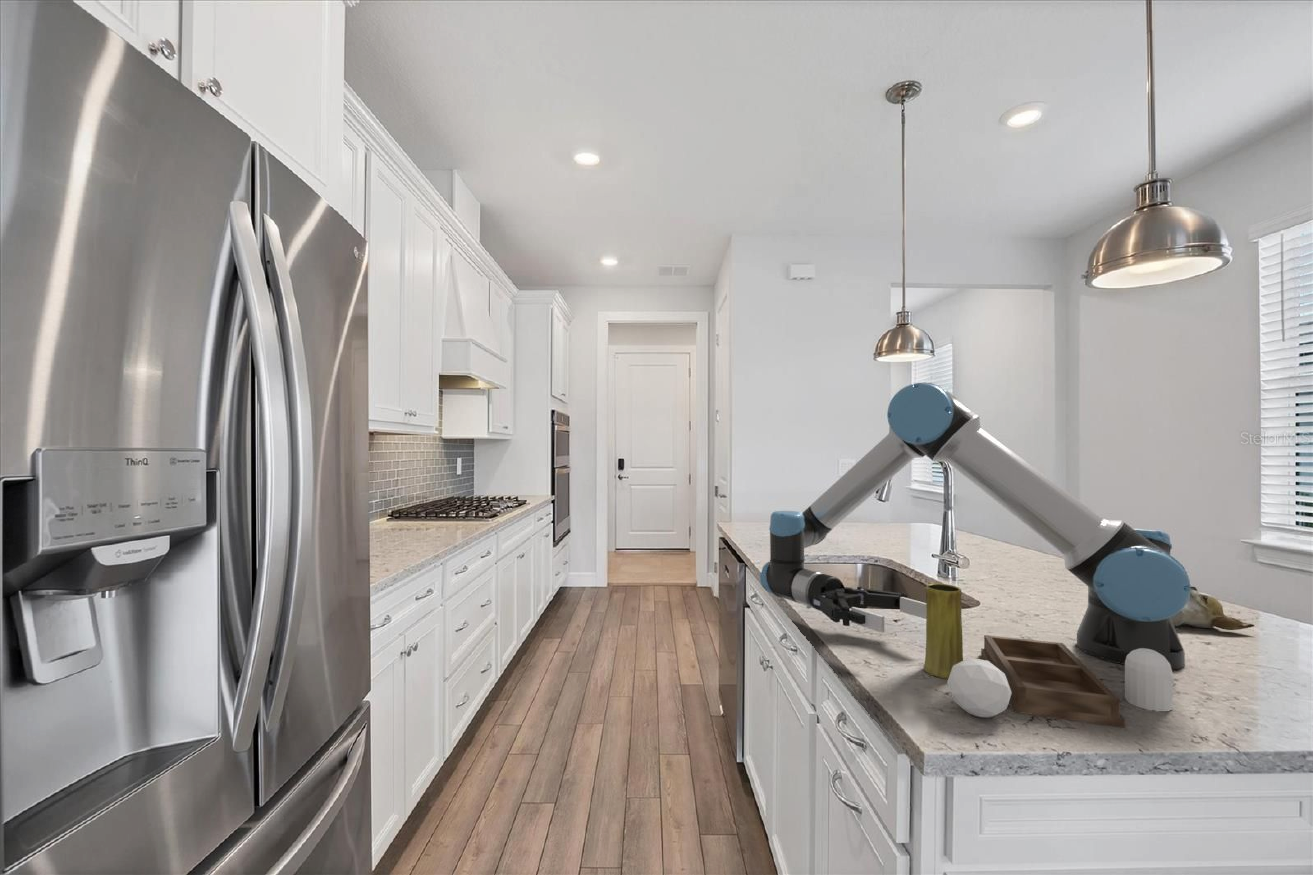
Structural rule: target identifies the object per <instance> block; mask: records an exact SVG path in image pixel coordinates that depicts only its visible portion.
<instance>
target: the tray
mask: <svg viewBox="0 0 1313 875" xmlns="http://www.w3.org/2000/svg"><path fill="white" fill-rule="evenodd" d="M983 637H984V638H983V640H984V642H983V644H984V645H983V646H984V647H983V648H981V649H980V655H981V658H982V660H987V661H989V662H990V663H992V664H993V665H994V666H995V667H997V668H998V669H999V670H1000V671H1002V672H1003V673H1004V674H1005V676H1006V678H1007V681H1008V684H1009V687H1010V689H1011V692H1012V694H1011V697H1010V700H1009V703H1008V705H1009V706H1010V707H1011V710H1012V712H1014V713H1021V714H1028V715H1034V716H1035V715H1036V716H1042V717H1049V718H1056V719H1057V718H1058V719H1063V720H1070V721H1076V722H1083V723H1084V722H1085V723H1091V724H1098V725H1106V726H1113V727H1117V728H1125V725H1126V724H1125V717H1124V716H1123V715H1122V714H1121V700H1120V698H1119V697H1118V696H1117V695H1116V694H1115V693H1114V692H1113V691H1112V690H1111V689H1110V688H1109V687H1108V686H1107V685H1106V684H1105V683H1104V682H1102V680H1101V679H1100V678H1098V676H1096V675H1095V673H1093V671H1091V669H1089V667H1088V666H1087V665H1085V664H1084V663H1083V661H1081V660H1080V659H1079V657H1077V656H1076V655H1075V653H1073V651H1071V650H1070V649H1069V648H1068V647H1067V646H1066V645H1065V644H1064V643H1063V642H1055V641H1046V640H1036V639H1035V640H1034V639H1027V638H1018V637H1008V636H997V635H987V634H984V636H983Z"/></svg>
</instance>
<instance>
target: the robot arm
mask: <svg viewBox="0 0 1313 875" xmlns="http://www.w3.org/2000/svg"><path fill="white" fill-rule="evenodd" d="M886 414H887V415H886V416H887V422H888V425H889V428H888V430H889V431H888V434H887V435H886V436H884V437H883V439H881V440H880V441H879V442H878V443H877V444H876V445H874V447H873V448H872V449H870V450H869V451H868V452H867V453H866V454H865V455H864V456H863V457H862V458H861V459H860V460H858V461H857V462H856V463H855V464H854V465H853V466H852V467H851V468H849V469H848V471H847V472H845V473H844V474H843V475H842V476H841V477H840V478H839V479H838V480H836V481H835V482H834V483H833V484H832V485H831V486H829V488H828V489H827V490H826V491H825V492H823V494H821V495H820V496H819V497H818V498H817V499H816V500H815V501H814V502H812V503H811V505H809V506H808V507H807V508H806V509H805V510H804V511H803V512H802V511H801V512H800V511H796V510H779V511H778V510H777V511H776V510H775V511H774V512H772V513H771V514H770V522H769V523H770V524H769V529H768V530H769V543H770V544H769V547H770V548H769V549H770V550H769V551H770V552H769V553H770V554H769V556H770V557H769V561H767V562H766V563H764V565H763V566H762V568H761V571H760V574H759V581H760V584H761V586H762V589H764V590H765V592H768V593H769V594H772V595H774V596H776V597H777V598H781V599H785V600H788V601H790V602H794V603H797V604H800V605H802V606H806V608H807V609H814V610H817V611H819V612H822V614H824V615H825V616H826V617H827V618H829V619H830V620H831V621H832V622H833V623H840V622H841V620H842V625H843V626H845V627H850V624H851V623H852V624H854V625H858V626H861V627H865V628H867V629H869V630H873V631H876V632H879V633H881V634H882V633H885V615H881V614H878V613H876V612H872V611H869V610H866V609H867V608H868V607H872V608H879V609H892V610H899V612H902V613H904V614H907V615H912V616H914V617H916V618H917V617H918V618H921V619H925V620H926V602H923V601H919V600H915V599H912V598H908V597H909V596H908V595H909V594H908V593H905V592H903V591H900V592H894V591H887V590H880V589H873V588H872V589H871V588H867V587H862V586H857V587H856V588H853V587H847V586H846V587H845V584H843V581H842V580H841V579H840V578H839V577H837V576H833V575H831V574H830V575H829V574H826V573H822V572H818V571H814V570H810V569H807V568H805V549H806V548H808V547H809V548H810V547H811V546H815V545H818V544H819V543H821V542H822V541H823V540H825V539H826V538H827V536H828V534H829V533H830V532H831V531H832V530H833V529H834V528H835V527H836V526H839V524H840V523H841V522H843V520H845V519H846V518H847V517H848V516H849V515H851V513H853V512H854V511H855V510H856V509H858V508H859V507H860V506H861V505H862V504H863V503H864V502H866V501H867V500H868V499H869V498H870V497H872V496H873V495H874V494H875V493H876V492H877V491H878V490H880V489H881V488H882V487H883V486H884V485H886V483H888V482H889V481H890V480H891V479H892V478H893V477H895V476H896V475H897V473H899V472H900V471H901V470H903V468H905V467H906V466H907V465H908V464H910V463H911V462H912V461H913V460H914V459H916V458H917V459H919V458H920V459H923V458H924V457H925V456H926V457H927V458H929V459H930V460H931V461H933V462H934V463H937V462H940V463H943V462H944V463H947V464H949V465H950V466H952V467H953V468H954V469H956V470H957V471H958V472H959V473H960V474H962V475H963V476H964V477H965V478H967V479H968V480H969V481H971V483H973V484H974V485H975V486H977V487H978V488H979V489H981V490H982V491H983V492H984V493H985V494H987V495H988V496H989V497H991V498H992V500H994V501H996V502H997V503H998V504H999V505H1000V506H1002V507H1003V508H1005V509H1006V510H1007V511H1008V512H1009V513H1010V514H1011V515H1013V516H1015V517H1016V518H1017V519H1018V520H1019V521H1020V522H1022V523H1023V524H1024V525H1025V526H1027V527H1028V528H1029V529H1031V530H1032V531H1033V532H1034V533H1036V534H1037V535H1038V536H1039V537H1041V538H1042V539H1043V540H1044V541H1046V542H1047V543H1048V544H1049V545H1051V547H1054V548H1055V549H1056V551H1058V552H1059V553H1061V554H1062V555H1063V562H1064V568H1065V569H1066V570H1067V571H1068V572H1070V573H1071V574H1072V575H1074V576H1075V577H1076V578H1077V579H1078V580H1080V582H1082V583H1083V584H1085V585H1086V586H1087V597H1088V598H1087V608H1086V610H1085V612H1084V614H1083V617H1082V620H1081V621H1080V624H1079V627H1078V629H1077V632H1076V645H1077V647H1078V649H1081V651H1083V652H1085V653H1087V654H1089V655H1091V656H1093V657H1097V658H1100V659H1102V660H1106V661H1108V662H1112V663H1116V664H1121V665H1125V660H1126V656H1127V655H1128V654H1129V653H1130V652H1131V651H1133V650H1136V649H1140V648H1146V649H1151V650H1154V651H1156V652H1158V653H1159V654H1161V655H1163V656H1164V657H1165V658H1166V659H1167V661H1168V662H1169V663H1170V665H1171V669H1172V670H1177V669H1181V668H1183V667H1185V665H1186V660H1185V659H1186V657H1185V654H1186V653H1185V650H1184V647H1183V644H1182V642H1181V640H1180V638H1179V634H1178V633H1177V630H1176V626H1174V625H1173V622H1172V620H1171V617H1172V616H1174V615H1175V614H1177V613H1178V612H1180V611H1181V610H1182V609H1183V608H1184V607H1185V605H1186V604H1187V602H1188V600H1189V597H1190V591H1191V587H1192V586H1191V581H1190V578H1189V575H1188V572H1187V571H1186V568H1185V567H1184V566H1183V564H1181V563H1180V562H1179V560H1177V559H1176V558H1174V557H1173V556H1172V555H1171V550H1172V548H1173V545H1172V543H1171V538H1170V537H1171V536H1170V535H1169V533H1167V532H1165V531H1163V530H1154V529H1152V530H1151V529H1140V528H1133V527H1131V526H1130V525H1128V524H1127V523H1126V522H1124V521H1123V520H1120V519H1119V520H1118V519H1105V518H1103V517H1101V516H1100V515H1099V514H1097V513H1096V511H1093V510H1092V509H1090V508H1089V507H1087V505H1085V504H1084V503H1083V502H1081V501H1080V500H1078V499H1077V498H1076V497H1074V496H1073V495H1072V494H1070V493H1069V492H1068V491H1066V490H1065V489H1063V488H1062V487H1061V486H1060V485H1058V484H1057V483H1055V481H1053V480H1051V479H1050V478H1049V477H1048V476H1046V475H1045V474H1043V473H1042V472H1041V471H1040V470H1038V469H1037V468H1036V467H1034V466H1033V465H1032V464H1030V463H1028V461H1026V460H1024V459H1023V458H1022V457H1020V456H1019V455H1018V454H1017V453H1015V452H1014V451H1013V450H1011V449H1010V448H1008V447H1007V446H1006V445H1004V444H1003V443H1002V442H1000V441H999V440H998V439H996V438H995V437H994V436H992V435H991V434H990V433H988V432H987V431H986V430H984V429H983V428H982V426H981V419H980V415H978V414H977V413H975V412H974V411H973V410H972V409H970V408H969V407H968V406H966V405H965V404H964V403H962V402H961V401H959V400H958V399H957V398H956V397H955V396H954V395H953V394H952V393H951V392H949V391H948V390H945V389H944V388H942V387H941V386H939V385H937V384H935V383H931V382H924V381H923V382H917V383H912V384H909V385H907V386H904V387H902V388H900V389H899V390H898V391H897V392H896V393H895V394H894V395H893V397H892V398H891V400H890V402H889V404H888V408H887V413H886ZM861 602H862V603H861Z"/></svg>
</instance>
